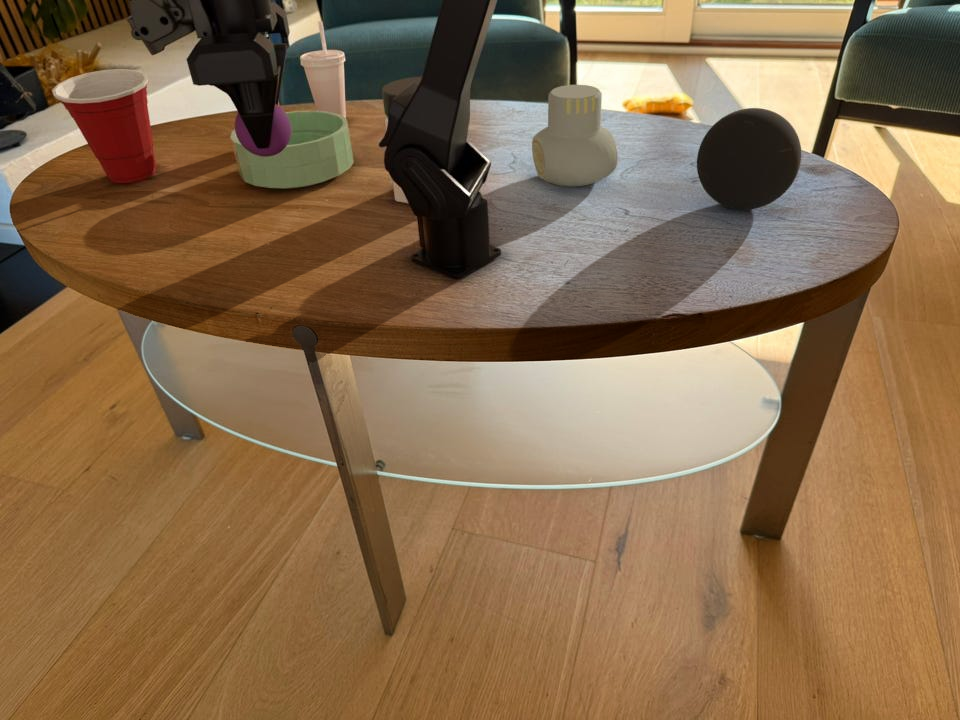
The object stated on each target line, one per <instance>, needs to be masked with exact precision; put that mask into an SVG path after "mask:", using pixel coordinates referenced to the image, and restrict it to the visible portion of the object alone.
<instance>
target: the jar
mask: <svg viewBox="0 0 960 720" xmlns="http://www.w3.org/2000/svg"><path fill="white" fill-rule="evenodd" d="M421 78H422V76H412V77H406V78H400V79H397V80H394V81H390V82H389V83H386V84H385V85H383V87H382V89H381V94H382V103H383V111H384V112H383V113H384V115H385V117H384V125H385V132H386V131H387V126H388V112H389V107H390V102H391V101H392V100H393V99H394V98H395V97H396V96H397V95H398V94H399V93H401V92H402V91H403V90H404V89H405V88H406V87H407V86H408V85H409V84H411V83H412V82H414V83H415V84H417V85H419V83H420V81H421ZM391 181H392V186H393V196H394V201H395V202H398V203H404V204H408V205H409V203H408V201H407V199H406V197H405V195H404V193H403V191H402V189H401V188H400V187H399V186H398V185H397V184H396V183H395V182H394V181H393V180H392V179H391Z"/></svg>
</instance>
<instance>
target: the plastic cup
mask: <svg viewBox="0 0 960 720" xmlns="http://www.w3.org/2000/svg"><path fill="white" fill-rule="evenodd" d="M148 83H149V77H148V75H147V74H146V72H143V71H140V70H137V69H126V68H115V69H102V70H95V71H91V72H85V73H83V74H78V75H76V76H72V77H69V78H67V79H65V80H62V81H61V82H58V83H57V84H56V85H55V86H54V87H53V88H52V89H51V91H52V95H53V97H54V98H55V99H56V100H59V102H60V103H61V105H63V106H64V108H65V110H67V112H68V113H69V115H70V117H71V118H72V119H73V120H74V122H75V124H76V126H77V128H78V129H79V131H80V133H81V134H82V136H83V138H84V140H85V141H86V143H87V145H88V147H89V149H90V150H91V152H92V153H93V155H94V158H96V159H97V161H98V162H99V164H100V166H101V168H102V169H103V171H104V173H105V175H106V176H107V178H109V180H110V182H112V183H115V184H131V183H132V184H133V183H135V182H136V183H137V182H142V181H143V180H147V179H149V178H151V177H152V176H154V175H155V173H157V169H156V167H157V164H156V158H155V152H154V140H153V133H152V128H151V127H152V125H151V120H150V113H149V107H148V103H149V102H148V101H149V100H148V96H147V95H148V90H147V88H148V87H147V85H148Z"/></svg>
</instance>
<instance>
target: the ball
mask: <svg viewBox="0 0 960 720" xmlns="http://www.w3.org/2000/svg"><path fill="white" fill-rule="evenodd" d="M285 112H286V111H285V110H284V109H283V108H282V107H281V106H279V104H278V105H276V104H275V111H274V118H273V125H272V133H271V139H270V146H269V147H268V148H263V149H258V148H257V147H256V145H255V143H254V142H253V140H252V138H251V136H250V134H249V132H248V130H247V128H246V126H245V124H244V122H243V120H242V118H241V117H240V115H239V113H238V112H237V113H236V116H235V120H234V129H235V132H236V136H237V138H238V140H239V142H240V143H241V145H242V146H243V147H244V148H245V149H246V150H248V151H249V152H251V153H252V154H255V155H258V156H263V157H268V156H273V155H276V154H278V153H280V152H281V151H282V150H284V148H285V147H286V146H287V144H288V143H289V140H290V137H291V124H290V121H289V118H288V117H287V115H286V113H285Z"/></svg>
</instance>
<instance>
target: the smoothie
mask: <svg viewBox="0 0 960 720" xmlns="http://www.w3.org/2000/svg"><path fill="white" fill-rule="evenodd" d="M317 24H318V29H319V35H320V41H321V47H322V48H321V50H320V49H319V50H314V51H309V52H306V53H303V54H301V55H300V57H299V60H300V66H301V67H303V69H304V73H305V76H306V79H307V82H308V86H309V89H310V93H311V95H312V100H313V102H314V106H315V109H316V111H326V112H332V113H336V114H339V115H342V116H343V117H345V118H346V119H347V113H346V111H347V110H346V88H345V87H346V85H345V62H346V55H345V52H344V51H342V50H339V49H327V42H326V37H325V30H324V24H323V21H322V20H319V21H317Z"/></svg>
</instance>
